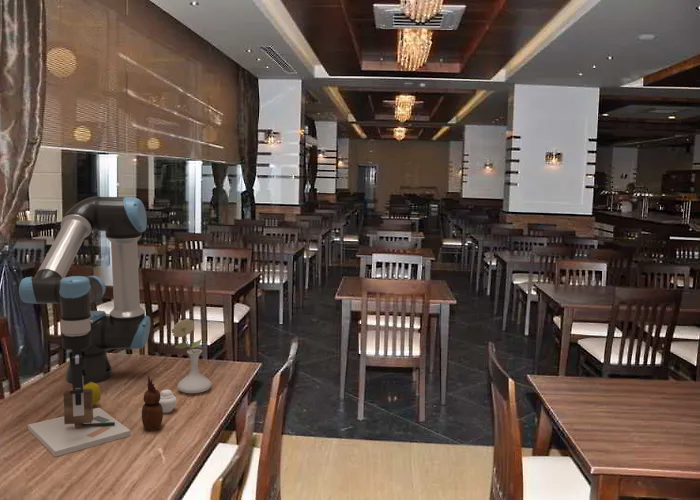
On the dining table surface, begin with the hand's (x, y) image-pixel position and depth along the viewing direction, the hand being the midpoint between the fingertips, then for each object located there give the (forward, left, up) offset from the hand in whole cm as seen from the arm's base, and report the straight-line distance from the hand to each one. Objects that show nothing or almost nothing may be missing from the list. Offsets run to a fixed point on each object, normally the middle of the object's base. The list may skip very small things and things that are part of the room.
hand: (78, 406), depth 172 cm
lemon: (-10, -17, -8) cm, 21 cm away
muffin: (-26, +1, -8) cm, 27 cm away
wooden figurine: (-17, +10, -8) cm, 21 cm away
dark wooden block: (-2, +2, -6) cm, 7 cm away
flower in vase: (-41, -10, -8) cm, 43 cm away
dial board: (0, 0, -8) cm, 8 cm away
